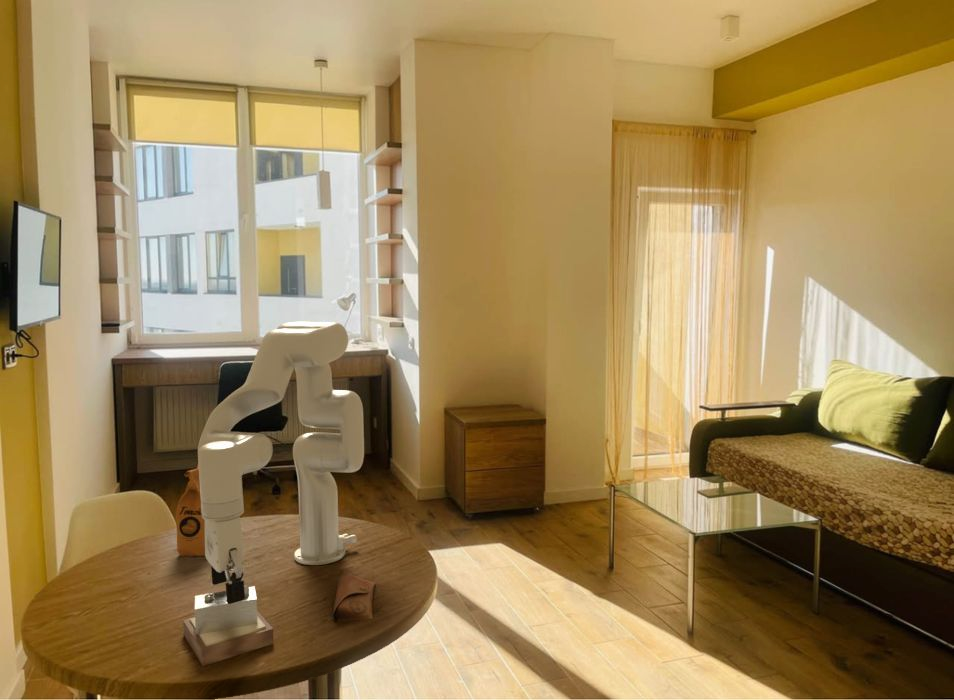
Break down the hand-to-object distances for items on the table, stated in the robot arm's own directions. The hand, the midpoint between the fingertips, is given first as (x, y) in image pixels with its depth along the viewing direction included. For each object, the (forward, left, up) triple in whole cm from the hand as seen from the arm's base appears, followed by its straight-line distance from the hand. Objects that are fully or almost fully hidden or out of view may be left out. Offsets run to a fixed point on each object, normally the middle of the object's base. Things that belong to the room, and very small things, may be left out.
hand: (228, 591), depth 133 cm
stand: (+1, +1, -9) cm, 9 cm away
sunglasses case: (-27, +1, -10) cm, 28 cm away
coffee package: (-7, -51, -10) cm, 53 cm away
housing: (+1, 0, -6) cm, 6 cm away
